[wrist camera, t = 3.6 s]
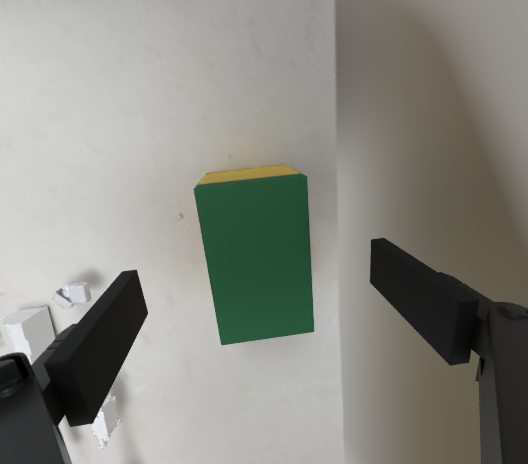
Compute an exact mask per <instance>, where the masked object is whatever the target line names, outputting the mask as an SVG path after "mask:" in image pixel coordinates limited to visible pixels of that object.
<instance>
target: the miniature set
mask: <svg viewBox="0 0 528 464" xmlns="http://www.w3.org/2000/svg"><path fill="white" fill-rule="evenodd" d="M52 300H53V301H54V302H55V303H57V304H58V305H59V306H61V307H63V308H64V309H66V310H69V309H70V308H71V307H73V306H74V304H75V303H87V302H89V301H90V300H91V294H90V289H89V284H88V283H87V282H73V283H72V284H70V285H69V286H66V287H65V289H59V290H57V291H56V292H55V294H54V295H53V297H52ZM3 323H4V326H5V327H6V328H7V331H8V335H9V338H10V341H11V345H12V348H13V351H14V353H15V352H22V353H24V354H26V355H27V358H28V360H29V362H30V364H31V365H32V364H33V363H34V362H35V360H36V359H37V358H38V357H39V356H40V355H41V354H42V353H43V352H44V351H45V350H46V348H47V347H48V346H49V345H50V344H51V343H53V341H54V339H55V334H54V330H53V326H52V322H51V318H50V314H49V310H48V306H43V307H42V308H30V309H25V310H22V311H19V312H16V313H14V314H11V315H9V316H8V317H7V318H5V319H4V321H3ZM115 399H116V397H115V396H114V395H112V394H109V395H108V396H107V397H106V399H105V401H104V403H103V405H102V407H101V409H100V411H99V413H98V415H97V417H96V419H95V421H94V424H93V425H92V429H93V431H92V434H94V435H96V436H97V439H98V443H99V448H100V449H102V448H104V447H105V446H106V445H107V441H108V440H109V439H110V436H111V433H112V431H113V429H114V428H115V427H116V426H117V425H118V424H119V423H120V419H119V418H117V417H116V412H115V407H114V403H113V401H114V400H115Z"/></svg>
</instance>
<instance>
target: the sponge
mask: <svg viewBox="0 0 528 464" xmlns="http://www.w3.org/2000/svg"><path fill="white" fill-rule="evenodd" d="M194 193H195V199H196V205H197V210H198V216H199V222H200V227H201V233H202V239H203V244H204V250H205V256H206V261H207V267H208V273H209V278H210V284H211V290H212V295H213V301H214V307H215V312H216V318H217V323H218V329H219V335H220V340H221V345H226V344H233V343H240V342H247V341H254V340H261V339H268V338H275V337H282V336H289V335H295V334H302V333H309V332H314V318H313V297H312V275H311V254H310V232H309V210H308V189H307V176H305V175H303V174H301V173H300V172H298V171H296V170H294V169H292V168H290V167H288V166H286V165H278V166H269V167H260V168H251V169H241V170H232V171H223V172H214V173H207V174H206V175H205V176H204V177H203V179H202V180H201V181H200V182H199V183H198V185H197V186H196V187H195V188H194Z"/></svg>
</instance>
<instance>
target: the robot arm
mask: <svg viewBox="0 0 528 464" xmlns="http://www.w3.org/2000/svg"><path fill="white" fill-rule="evenodd" d="M370 283H371V284H372V285H373V286H374V287H375V288H376V289H377V290H378V291H379V292H380V293H381V294H382V295H383V296H384V297H385V298H386V300H387V301H388V302H389V303H390V304H391V305H392V306H393V307H394V308H395V309H396V310H397V311H398V312H399V313H400V314H401V315H402V316H403V317H404V318H405V319H406V320H407V321H408V322H409V323H410V324H411V325H412V326H413V328H414V329H415V330H416V331H417V332H419V334H420V335H421V336H422V337H423V338H424V339H425V340H426V341H427V342H428V343H429V344H430V345H431V346H432V347H433V348H434V349H435V351H436V352H437V353H438V354H439V355H440V356H441V357H442V358H443V359H444V360H445V361H446V362H447V363H448V364H449V365H457V364H463V363H469V359H470V354H471V349H472V350H473V351H474V352H476V353H477V354H478V355H479V356H480V359H479V365H478V370H477V375H476V381H478V382H479V401H480V402H479V405H480V440H481V441H480V443H481V464H528V308H525V307H523V306H520V305H517V304H513V303H508V302H493V301H492V300H490V299H488V298H487V297H485V296H483V295H482V294H480V293H479V292H477V291H475V290H474V289H472V288H470V287H469V286H467V285H466V284H463V283H462V282H461V281H459V280H458V279H456V278H454V277H453V276H450V275H447V274H444V273H442V272H439V273H438V272H436V271H435V270H433V269H431V268H430V267H428V266H427V265H425V264H424V263H422V262H421V261H419V260H417V259H416V258H414V257H413V256H411V255H410V254H408V253H407V252H405V251H404V250H402V249H400V248H399V247H397V246H396V245H394V244H393V243H391V242H390V241H388V240H386V239H385V238H380V239H372V240H371V266H370ZM147 315H148V311H147V307H146V303H145V299H144V296H143V292H142V288H141V284H140V280H139V277H138V273H137V270H131V271H123V272H121V274H120V275H119V276H118V277H117V278H116V279H115V281H114V282H113V283H112V284H111V285H110V286H109V288H108V289H107V290H106V291H105V292H104V293H103V294H102V296H101V297H100V298H99V299H98V300H97V301H96V303H95V304H94V305H93V306H92V307H91V308H90V310H89V311H88V312H87V313H86V314H85V315H84V317H83V318H82V319H81V320H80V321H79V322H78V323H77V324H72V325H71V326H69V327H68V328H66V329H65V330H64V331H62V332H61V333H60V334H59V335H58V336H57V337H56V338H55V339H54V341H53V343H51V344H50V345H49V346H48V347H47V348H46V350H45V351H44V352H43V353H42V354H41V355H40V356H39V357H38V358H37V359H36V360H35V362H34V363H33V364H32V365H31V364H30V362H29V360H28V358H27V355H26V354H24V353H22V352H15V353H11V354H7V355H4V356H1V357H0V464H72V462H71V459H70V456H69V454H68V451H67V448H66V445H65V442H64V440H63V437H62V434H61V431H60V429H59V427H58V425H59V423H60V422H61V420H62V418H63V417H64V415H65V416H66V418H67V420H68V423H69V425H70V427H74V426H80V425H86V424H92V423H94V421H95V419H96V417H97V415H98V413H99V411H100V409H101V407H102V405H103V403H104V401H105V399H106V397H107V395H108V393H109V391H110V389H111V387H112V385H113V383H114V381H115V379H116V377H117V375H118V373H119V371H120V369H121V367H122V365H123V363H124V361H125V359H126V357H127V355H128V353H129V351H130V349H131V347H132V345H133V343H134V341H135V339H136V337H137V335H138V333H139V331H140V329H141V327H142V325H143V323H144V321H145V319H146V317H147Z"/></svg>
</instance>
